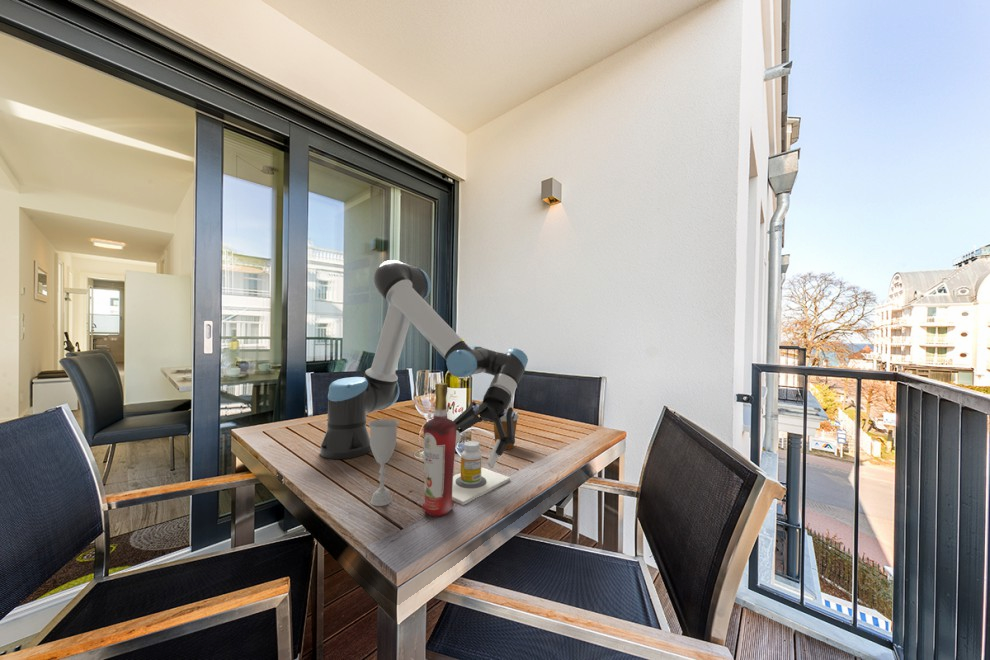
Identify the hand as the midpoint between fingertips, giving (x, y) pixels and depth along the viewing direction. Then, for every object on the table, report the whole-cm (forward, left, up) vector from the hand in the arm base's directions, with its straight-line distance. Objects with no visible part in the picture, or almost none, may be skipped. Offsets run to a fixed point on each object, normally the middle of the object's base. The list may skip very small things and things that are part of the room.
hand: (467, 459), depth 87 cm
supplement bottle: (-2, +1, -6) cm, 6 cm away
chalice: (+8, -19, -7) cm, 22 cm away
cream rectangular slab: (-2, +1, -7) cm, 7 cm away
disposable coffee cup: (-33, +11, -7) cm, 35 cm away
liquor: (+12, -6, -7) cm, 15 cm away
